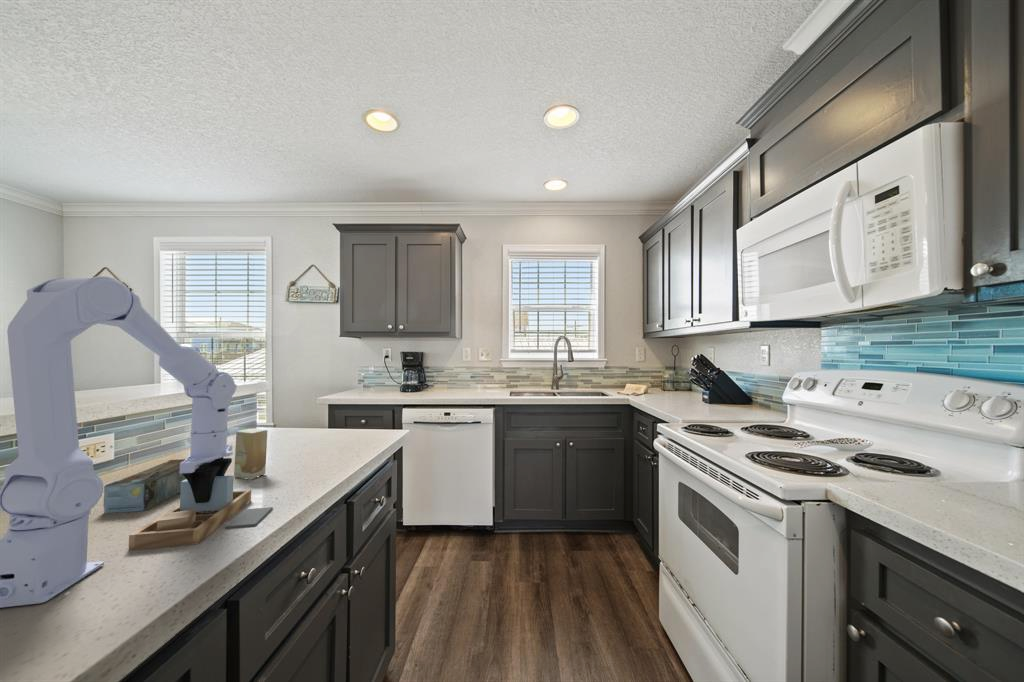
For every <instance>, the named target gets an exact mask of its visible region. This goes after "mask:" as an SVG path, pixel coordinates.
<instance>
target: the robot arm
mask: <svg viewBox="0 0 1024 682" xmlns="http://www.w3.org/2000/svg"><path fill="white" fill-rule="evenodd" d="M26 298H27V299H26V300H25V301H24V303H23V304H22V306H21V307H20V309H19V310H18V311H17V312H16V314H15V316H14V317H13V318H12V319H11V321H10V322H9V324H8V326H7V331H6V332H7V342H8V343H7V345H8V354H9V364H10V366H9V367H10V376H11V386H12V387H11V388H12V398H13V399H12V400H13V409H14V417H15V428H16V440H17V450H18V452H17V453H18V457H17V458H15V460H12V462H10V464H9V465H8V466H6V467H5V468H4V482H3V484H2V486H1V488H0V511H2V512H3V513H5V514H6V515H9V518H8V519H9V521H8V522H9V523H8V529H7V531H6V533H5V534H4V535H3V536H2V537H1V538H0V609H1V608H10V607H17V606H19V607H20V606H27V605H36V604H37V605H38V604H42V603H45V602H48V601H49V600H51V599H52V598H54V597H56V596H57V595H59V594H60V593H62V592H63V591H65V590H66V589H68V588H70V587H71V586H73V585H75V584H76V583H77V582H79V581H81V580H82V579H83V578H85V577H86V576H88V575H90V574H91V573H93V572H95V571H96V570H98V569H99V568H100V567H102V566H104V564H105V561H104V560H102V561H101V560H100V561H92V562H90V561H89V562H88V546H89V545H88V542H89V541H88V539H89V519H90V518H89V517H90V515H91V510H92V509H93V508H94V507H96V505H97V504H98V502H99V501H100V499H101V497H102V495H103V494H104V483H103V481H102V479H101V477H100V476H99V475H98V474H97V473H96V471H95V469H94V462H93V461H94V460H92V459H91V457H89V455H88V454H86V453H85V451H83V450H82V448H81V447H80V442H79V428H78V421H77V420H78V419H77V406H76V394H75V383H74V370H73V369H74V368H73V357H72V348H71V347H72V344H71V342H72V340H73V339H75V338H76V337H78V336H79V335H81V334H82V333H84V332H85V331H87V330H88V329H90V328H91V327H92V326H95V325H98V324H100V325H106V326H112V327H118V328H120V329H121V330H122V331H124V333H126V334H128V335H129V336H131V337H132V338H134V339H135V340H136V341H138V342H139V343H140V344H142V345H144V346H145V347H146V348H148V349H149V350H150V351H152V352H153V353H154V354H155V355H157V356H158V357H159V360H158V365H159V367H160V368H161V369H163V370H164V371H165V372H167V373H168V374H169V375H170V376H172V377H173V378H174V379H176V381H178V382H179V383H180V384H181V385H182V386H183V390H184V391H183V392H184V394H185V395H186V396H187V397H189V398H191V401H192V402H191V429H190V447H189V448H190V450H189V452H190V453H189V454H188V456H187V457H186V458H184V459H185V461H183V462H181V463H180V474H181V473H182V474H183V475H184V477H185V478H186V479H187V481H188V482H189V484H190V486H191V489H192V492H193V496H194V500H195V503H207V502H209V500H210V497H211V493H212V486H213V482H214V479H215V476H226V475H225V474H226V472H227V471H228V469H229V467H230V465H231V464H232V462H233V458H231V457H230V456H232V455H233V453H234V451H233V444H227V443H228V442H227V441H228V440H227V439H228V420H229V419H228V418H229V417H228V415H229V413H228V412H229V407H230V405H231V403H232V397H233V395H234V394H235V392H236V390H237V386H238V385H237V384H236V383H235V380H234V378H233V377H232V376H231V375H230V374H229V373H227V372H224V371H219V370H218V369H217V366H216V365H215V364H214V363H211V362H210V361H209V360H208V359H206V358H205V357H204V356H203V355H202V354H201V353H200V352H201V350H200V349H199V347H197V346H193V345H191V344H183V343H182V344H180V343H178V342H177V340H175V338H174V337H172V335H171V334H170V333H168V332H167V331H166V329H165V328H164V327H163V326H162V325H161V324H160V323H159V322H158V321H157V320H156V319H155V318H154V317H153V316H152V315H151V314H150V313H149V312H148V311H147V310H146V309H145V308H144V307H143V306H142V302H141V300H140V297H139V296H138V295H137V294H136V293H134V292H133V291H130V289H129V287H128V286H126V284H125V283H123V282H122V281H121V280H119V279H117V278H114V277H111V276H104V275H101V276H93V277H82V278H81V277H80V278H77V277H76V278H63V277H60V278H57V277H56V278H52V279H48V280H45V281H43V282H41V283H39V284H37V285H35V286H33V287H31V288H29V289H27V290H26ZM224 457H225V458H224Z"/></svg>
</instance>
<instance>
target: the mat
mask: <svg viewBox="0 0 1024 682" xmlns="http://www.w3.org/2000/svg"><path fill="white" fill-rule="evenodd" d="M272 510H274V509H273V506H272V507H271V506H270V507H258V508H257V507H256V508H245V509H243V511H242V512H241V513H239V514H238V515H237V516H236V517H235V518H233V519H232V520H231V521H230V522H229V523H227V524H226V525H225V526H224V527H225V529H236V528H245V527H256V526H257V525H258V524H259V523H260V522H261V521H262V520H263V519H265V517H266V516H267V515H268V514H269V513H270V512H271V511H272Z"/></svg>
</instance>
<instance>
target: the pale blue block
mask: <svg viewBox="0 0 1024 682" xmlns="http://www.w3.org/2000/svg"><path fill="white" fill-rule="evenodd" d="M234 478H235V477H234V474H231V475H224V476H215V479H214V482H213V486H212V493H211V497H210V500H209V502H207V503H195V500H194V496H193V492H192V489H191V486H190V484H189V482H188V481H187V479H185V480H183V481H181V491H180V493H179V494H180V497H179V505H180V511H188V510H196V512H201V511H215V510H221V509H222V508H224V507H225V506H226V505H228V504H229V503H230V502H232V501H233V491H234V480H235V479H234Z"/></svg>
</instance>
